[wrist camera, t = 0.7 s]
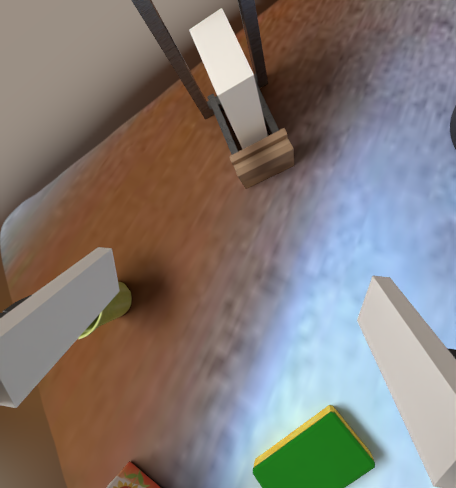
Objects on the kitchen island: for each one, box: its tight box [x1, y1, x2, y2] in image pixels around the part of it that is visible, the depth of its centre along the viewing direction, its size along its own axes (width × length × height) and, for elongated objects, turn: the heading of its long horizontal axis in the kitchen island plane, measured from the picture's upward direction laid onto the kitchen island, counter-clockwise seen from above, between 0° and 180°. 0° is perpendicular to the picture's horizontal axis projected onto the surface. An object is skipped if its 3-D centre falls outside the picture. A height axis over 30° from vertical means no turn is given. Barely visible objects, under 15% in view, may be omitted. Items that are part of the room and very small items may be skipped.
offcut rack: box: [132, 0, 279, 155], centre depth 30 cm, size 12×12×21 cm
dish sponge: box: [253, 405, 375, 488], centre depth 32 cm, size 7×14×2 cm, turn 131°
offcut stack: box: [229, 128, 294, 189], centre depth 36 cm, size 8×3×6 cm, turn 112°
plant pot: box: [78, 282, 132, 339], centre depth 39 cm, size 9×9×9 cm
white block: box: [189, 8, 268, 149], centre depth 33 cm, size 4×9×15 cm, turn 22°
